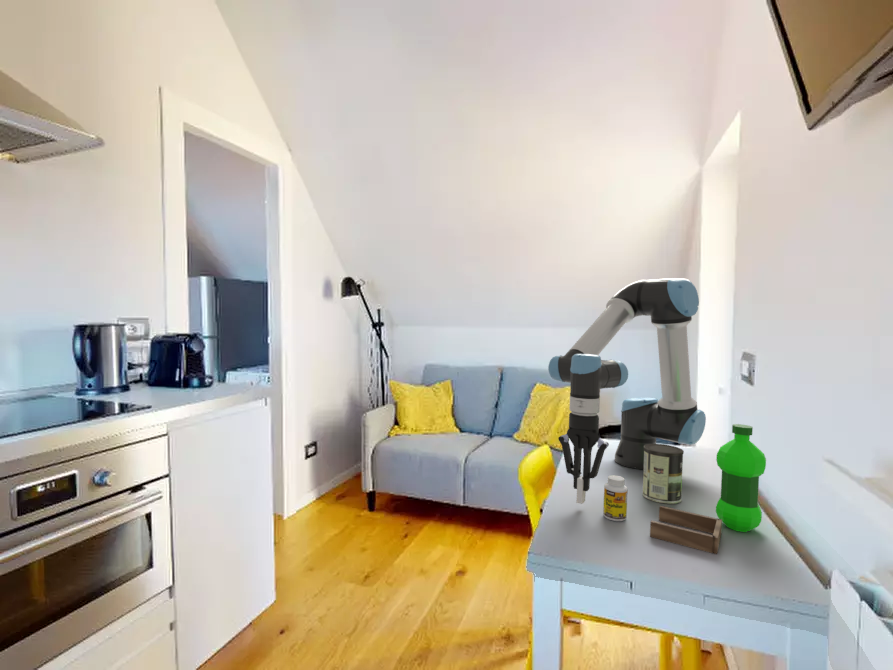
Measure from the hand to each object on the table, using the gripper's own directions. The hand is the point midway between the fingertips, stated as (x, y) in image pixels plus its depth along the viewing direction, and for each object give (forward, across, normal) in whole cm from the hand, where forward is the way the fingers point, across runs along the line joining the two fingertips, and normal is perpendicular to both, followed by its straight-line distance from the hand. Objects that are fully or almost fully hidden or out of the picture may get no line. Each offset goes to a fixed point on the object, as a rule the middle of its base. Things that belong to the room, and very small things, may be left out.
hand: (580, 501), depth 124 cm
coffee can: (+2, +16, +23) cm, 28 cm away
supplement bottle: (+2, +9, 0) cm, 9 cm away
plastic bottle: (+2, +35, +13) cm, 37 cm away
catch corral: (+2, +25, 0) cm, 25 cm away
